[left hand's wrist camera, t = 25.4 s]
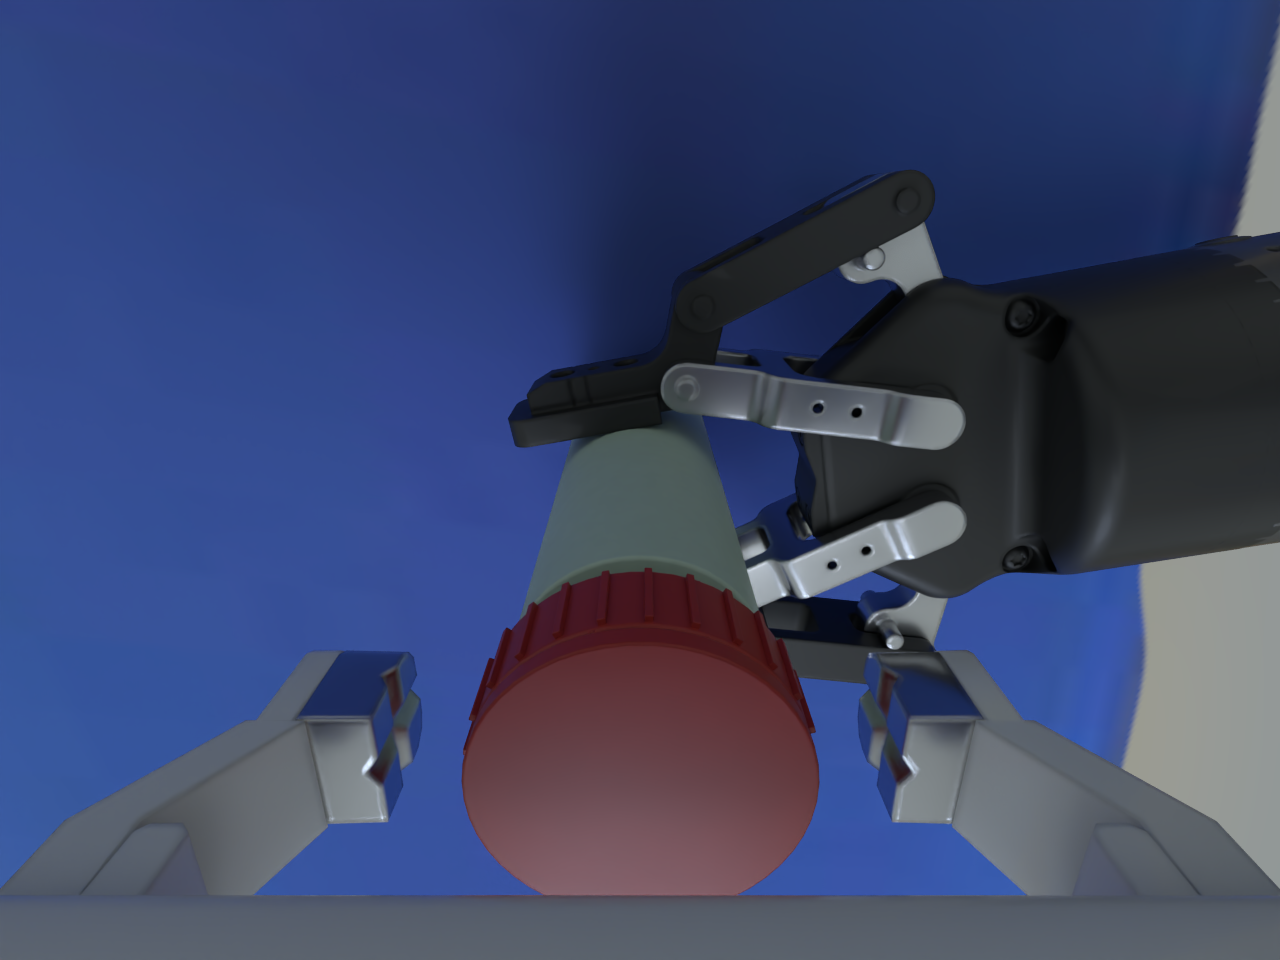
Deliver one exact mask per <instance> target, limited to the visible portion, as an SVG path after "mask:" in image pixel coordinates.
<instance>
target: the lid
mask: <svg viewBox="0 0 1280 960" xmlns="http://www.w3.org/2000/svg"><path fill="white" fill-rule="evenodd" d="M469 720H471V721H472V724H471V727H470V730H469V733H468V736H467V739H466V742H465V745H464V748H463V755H464V760H463V767H462V788H463V797H464V802H465V805H466V809H467V812H468V816H469V819H470V821H471V823H472V825H473V827H474V829H475V832H476V834H477V835H478V837H479V838H480V840H481V841H482V843H483V844H484V846H485V847H486V849H487V850H488V851H489V853H490V854H491V855H492V856H493V857H494V858H495V859H496V860H497V862H498V863H499V864H500V865H501V866H503V867H504V868H505V869H506V870H507V871H508V872H509V873H511V874H512V875H513V876H514V877H516V878H517V879H518V880H520V881H521V882H523V883H524V884H526V885H527V886H529V887H530V888H532V889H534V890H536V891H538V892H540V893H541V894H543V895H738V894H740V893H742V892H744V891H746V890H747V889H749V888H751V887H752V886H754V885H755V884H757V883H758V882H760V881H761V880H763V879H764V878H766V877H767V876H768V875H769V874H770V873H772V872H773V871H774V870H775V869H776V868H778V867H779V866H780V865H781V864H782V863H783V862H784V861H785V859H786V858H787V857H788V856H789V855H790V854H791V853H792V852H793V850H794V849H795V848H796V846H797V845H798V843H799V842H800V840H801V839H802V837H803V836H804V834H805V832H806V830H807V828H808V826H809V824H810V821H811V819H812V816H813V813H814V809H815V806H816V803H817V797H818V789H819V764H818V760H817V755H816V750H815V746H814V743H813V740H812V737H811V733H815V732H816V731H815V726H814V723H813V720H812V718H811V715H810V712H809V709H808V706H807V703H806V700H805V697H804V694H803V691H802V688H801V685H800V682H799V679H798V676H797V673H796V670H793V667H792V663H791V660H790V657H789V654H788V651H787V648H786V645H785V643H784V641H783V639H782V638H781V639H779V640H776V638H775V637H774V635H773V634H772V633H771V631H770V630H769V629H768V628H767V626H766V624H765V621H764V617H763V614H762V613H761V612H760V611H756V612H755V613H753V612H752V611H751V610H750V609H749V608H747V607H746V606H745V605H743V604H742V603H740V602H739V601H737V600H736V599H735V598H733V594H732V591H731V590H729V589H727V588H725V590H724V591H723V592H722V591H720V590H719V589H717V588H715V587H713V586H710V585H708V584H705V583H702V582H700V581H697V580H695V579H694V575H692V574H688V573H687V575H686V577H682V576H678V575H674V574H667V573H658V572H652V568H644V572H623V573H614V574H610V572H609V570H607V571H602V574H601V576H598V577H594V578H590V579H587V580H584V581H582V582H579V583H576V584H573V585H570V583H569V582H567V583H564V584H562V588H561V591H559V592H557V593H555V594H553V595H551V596H549V597H548V598H547V599H545V600H544V601H542V602H541V603H539V604H538V605H537V604H536V603H535V602H532V603H531V604H529V605H528V609H527V612H526V615H525V616H524V617H523V618H521V619H520V620H519V622H518V623H517V624H516V625H515V626H514V628H513V629H512V630H510V629H509V628H506V629H505V630H504V632H503V634H502V637H501V640H500V644H499V647H498V650H497V653H496V656H495V659H492V658H489V660H488V663H487V666H486V669H485V672H484V675H483V678H482V681H481V684H480V687H479V690H478V693H477V696H476V699H475V702H474V705H473V708H472V711H471V714H470V717H469Z"/></svg>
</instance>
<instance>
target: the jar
mask: <svg viewBox="0 0 1280 960" xmlns="http://www.w3.org/2000/svg"><path fill="white" fill-rule="evenodd" d="M661 417H662V424H660V425H654V426H648V427H642V428H637V429H628V430H623V431H618V432H613V433H608V434H602V435H596V436H590V437H585V438H579V439H573V440H572V442H571V445H570V448H569V452H568V455H567V459H566V462H565V466H564V469H563V472H562V476H561V479H560V483H559V486H558V490H557V493H556V496H555V500H554V503H553V507H552V510H551V514H550V517H549V521H548V524H547V527H546V531H545V534H544V538H543V541H542V545H541V548H540V551H539V555H538V558H537V562H536V565H535V569H534V572H533V575H532V579H531V582H530V586H529V589H528V593H527V596H526V599H525V603H524V606H523V610H522V613H521V617H520V619H521V618H523V617H524V616H525V615H526V612H527V609H528V605H529V604H531V603H532V602H535V603H536V604H537V605H538V604H539V603H541V602H542V601H544V600H545V599H547V598H548V597H549V596H551V595H553V594H555V593H557V592H559V591H561V588H562V584H564V583H567V582H569V583H570V585H573V584H576V583H579V582H582V581H584V580H587V579H590V578H594V577H598V576H601V574H602V571H607V570H609V572H610V574H614V573H623V572H644V568H652V572H658V573H667V574H674V575H678V576H682V577H686V575H687V573H688V574H692V575H694V579H695V580H697V581H700V582H702V583H705V584H708V585H710V586H713V587H715V588H717V589H719V590H720V591H722V592H723V591H724V590H725V588H727V589H729V590H731V591H732V594H733V598H735V599H736V600H737V601H739V602H740V603H742V604H743V605H745V606H746V607H747V608H749V609H750V610H751V611H752V612H753V613H755V612H756V611H759V609H758V606H757V602H756V599H755V596H754V592H753V589H752V585H751V582H750V578H749V575H748V572H747V568H746V565H745V561H744V558H743V555H742V551H741V548H740V544H739V541H738V537H737V534H736V531H735V527H734V524H733V520H732V517H731V514H730V510H729V507H728V503H727V500H726V496H725V493H724V490H723V486H722V483H721V479H720V476H719V472H718V469H717V466H716V462H715V459H714V455H713V452H712V449H711V445H710V442H709V438H708V435H707V431H706V428H705V425H704V421H703V418H702V415H694V414H685V413H679V412H676V411H674V410H671V411H665V412H661Z"/></svg>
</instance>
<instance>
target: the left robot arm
mask: <svg viewBox="0 0 1280 960" xmlns="http://www.w3.org/2000/svg"><path fill="white" fill-rule="evenodd" d="M416 676H417V673H416V667H415V662H414V657H413V656H412V655H411V654H410V653H409V652H386V651H312V652H309V653H307V654H306V655H305V656H304V657H303V659H302V660H301V661H300V663H299V664H298V665H297V667H296V668H295V669H294V671H293V672H292V673H291V675H290V676H289V677H288V678H287V680H286V681H285V682H284V684H283V685H282V686H281V688H280V689H279V690H278V692H277V693H276V694H275V696H274V697H273V698H272V700H271V701H270V702H269V704H268V705H267V706H266V708H265V709H264V710H263V712H262V713H261V714H260V716H259V717H258V718H257V720H246V721H244V722H242V723H240V724H238V725H237V726H235V727H233V728H231V729H229V730H227V731H226V732H224V733H222V734H220V735H218V736H217V737H215V738H213V739H211V740H209V741H208V742H206V743H204V744H202V745H200V746H198V747H197V748H195V749H193V750H191V751H189V752H188V753H186V754H184V755H182V756H180V757H179V758H177V759H175V760H173V761H171V762H169V763H168V764H166V765H164V766H162V767H160V768H159V769H157V770H155V771H153V772H151V773H150V774H148V775H146V776H144V777H142V778H140V779H139V780H137V781H135V782H133V783H131V784H130V785H128V786H126V787H124V788H122V789H121V790H119V791H117V792H115V793H113V794H111V795H110V796H108V797H106V798H104V799H102V800H101V801H99V802H97V803H95V804H93V805H92V806H90V807H88V808H86V809H84V810H82V811H81V812H79V813H77V814H75V815H73V816H72V817H70V818H68V819H66V820H65V821H64V822H63V823H62V824H61V825H60V826H59V827H58V828H57V829H56V830H55V831H54V832H53V833H52V834H51V836H50V837H49V838H48V839H47V840H46V841H45V842H44V843H43V844H42V845H41V846H40V847H39V848H38V849H37V850H36V852H35V853H34V854H33V855H32V856H31V857H30V858H29V859H28V860H27V861H26V862H25V863H24V864H23V865H22V866H21V867H20V869H19V870H18V871H17V872H16V873H15V874H14V875H13V876H12V877H11V878H10V879H9V880H8V881H7V882H6V883H5V885H4V886H3V887H2V888H1V889H0V960H1280V889H1279V888H1278V887H1277V886H1276V884H1275V883H1274V882H1273V881H1272V880H1271V879H1270V878H1269V877H1268V876H1267V875H1266V874H1265V873H1264V872H1263V871H1262V869H1261V868H1260V867H1259V866H1258V865H1257V864H1256V863H1255V862H1254V861H1253V860H1252V859H1251V858H1250V857H1249V856H1248V854H1247V853H1246V852H1245V851H1244V850H1243V849H1242V848H1241V847H1240V846H1239V845H1238V844H1237V843H1236V842H1235V841H1234V839H1233V838H1232V837H1231V836H1230V835H1229V834H1228V833H1227V832H1226V831H1225V830H1224V829H1223V828H1222V827H1221V826H1220V824H1219V823H1218V822H1217V821H1215V820H1213V819H1211V818H1210V817H1208V816H1206V815H1204V814H1202V813H1201V812H1199V811H1197V810H1195V809H1193V808H1192V807H1190V806H1188V805H1186V804H1184V803H1182V802H1181V801H1179V800H1177V799H1175V798H1173V797H1172V796H1170V795H1168V794H1166V793H1164V792H1163V791H1161V790H1159V789H1157V788H1155V787H1154V786H1152V785H1150V784H1148V783H1146V782H1145V781H1143V780H1141V779H1139V778H1137V777H1136V776H1134V775H1132V774H1130V773H1128V772H1126V771H1125V770H1123V769H1121V768H1119V767H1117V766H1116V765H1114V764H1112V763H1110V762H1108V761H1107V760H1105V759H1103V758H1101V757H1099V756H1098V755H1096V754H1094V753H1092V752H1090V751H1089V750H1087V749H1085V748H1083V747H1081V746H1080V745H1078V744H1076V743H1074V742H1072V741H1071V740H1069V739H1067V738H1065V737H1063V736H1061V735H1060V734H1058V733H1056V732H1054V731H1052V730H1051V729H1049V728H1047V727H1045V726H1043V725H1042V724H1040V723H1038V722H1036V721H1034V720H1023V718H1022V717H1021V716H1020V714H1019V713H1018V712H1017V710H1016V709H1015V708H1014V707H1013V705H1012V704H1011V703H1010V701H1009V700H1008V699H1007V697H1006V696H1005V695H1004V693H1003V692H1002V691H1001V689H1000V688H999V687H998V685H997V684H996V683H995V681H994V680H993V679H992V677H991V676H990V675H989V673H988V672H987V671H986V670H985V668H984V667H983V666H982V664H981V663H980V662H979V660H978V659H977V658H976V656H975V655H974V654H973V653H971V652H969V651H967V650H954V651H934V652H890V653H869V654H868V656H867V658H866V661H865V666H864V672H863V676H864V678H865V680H866V682H867V685H868V687H869V690H868V691H867V692H866V693H865V694H864V695H863V696H862V697H861V698H860V700H859V709H858V729H859V738H860V742H861V746H862V750H863V752H864V755H865V757H866V760H867V762H868V763H869V764H871V765H872V766H873V767H875V768H876V769H877V770H879V774H878V780H877V787H878V789H879V792H880V794H881V797H882V799H883V801H884V804H885V806H886V809H887V811H888V813H889V816H890V818H891V820H892V822H909V823H945V824H952V827H953V828H954V829H955V830H956V831H957V832H959V833H960V834H961V835H962V836H963V837H964V838H965V839H966V840H967V841H968V842H970V843H971V844H972V845H973V846H974V847H975V848H976V849H977V850H978V851H979V852H981V853H982V854H983V855H984V856H985V857H986V858H987V859H988V860H989V861H990V862H991V863H993V864H994V865H995V866H996V867H997V868H998V869H999V870H1000V871H1001V872H1002V873H1004V874H1005V875H1006V876H1007V877H1008V878H1009V879H1010V880H1011V881H1012V882H1013V883H1015V884H1016V885H1017V886H1018V887H1019V888H1020V889H1021V890H1022V891H1023V892H1024V893H1026V894H1027V895H868V896H771V895H319V896H286V895H254V894H255V893H256V892H257V891H258V890H259V889H260V888H261V887H262V886H263V885H265V884H266V883H267V882H268V881H269V880H270V879H271V878H272V877H273V876H274V875H276V874H277V873H278V872H279V871H280V870H281V869H282V868H283V867H284V866H285V865H287V864H288V863H289V862H290V861H291V860H292V859H293V858H294V857H295V856H296V855H298V854H299V853H300V852H301V851H302V850H303V849H304V848H305V847H306V846H307V845H309V844H310V843H311V842H312V841H313V840H314V839H315V838H316V837H317V836H318V835H320V834H321V833H322V832H323V831H324V830H325V829H326V828H327V827H328V825H327V824H335V823H369V822H388V821H389V818H390V816H391V813H392V811H393V809H394V806H395V804H396V801H397V799H398V797H399V794H400V792H401V789H402V787H403V781H402V774H401V770H403V769H404V768H405V767H407V766H408V765H409V764H411V763H412V762H413V760H414V757H415V755H416V752H417V749H418V747H419V741H420V736H421V730H422V708H421V700H420V698H419V697H418V696H417V695H416V694H415V693H414V692H413V691H412V690H411V687H412V685H413V682H414V680H415V678H416Z"/></svg>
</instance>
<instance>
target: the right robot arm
mask: <svg viewBox="0 0 1280 960" xmlns="http://www.w3.org/2000/svg"><path fill="white" fill-rule="evenodd" d="M934 202H935V191H934V187H933V184H932V182H931V180H930V179H929V178H928V177H927V176H926V175H925V174H923V173H921V172H919V171H916V170H904V171H896V172H888V173H881V174H873V175H868V176H865V177H863V178H861V179H859V180H857V181H855V182H853V183H851V184H849V185H848V186H846V187H844V188H842V189H840V190H838V191H836V192H834V193H832V194H831V195H829V196H827V197H825V198H823V199H821V200H819V201H817V202H815V203H814V204H812V205H810V206H808V207H806V208H804V209H802V210H800V211H798V212H797V213H795V214H793V215H791V216H789V217H787V218H785V219H783V220H781V221H780V222H778V223H776V224H774V225H772V226H770V227H768V228H766V229H765V230H763V231H761V232H759V233H757V234H755V235H753V236H751V237H749V238H748V239H746V240H744V241H742V242H740V243H738V244H736V245H734V246H732V247H731V248H729V249H727V250H725V251H723V252H721V253H719V254H717V255H715V256H714V257H712V258H710V259H708V260H706V261H704V262H702V263H700V264H698V265H697V266H695V267H693V268H691V269H689V270H687V271H685V272H684V273H682V274H681V275H680V276H679V277H678V278H677V279H676V280H675V282H674V284H673V287H672V299H671V304H670V310H669V315H668V321H667V326H666V331H665V334H664V336H663V338H662V340H661V342H660V343H659V344H658V345H657V346H656V347H655V348H654V349H652V350H651V351H649V352H647V353H644V354H640V355H634V356H629V357H623V358H618V359H612V360H607V361H601V362H596V363H591V364H584V365H579V366H575V367H568V368H562V369H557V370H552V371H550V372H549V373H547V374H545V375H544V376H542V377H541V378H539V379H538V380H536V381H535V382H534V384H533V385H532V387H531V389H530V390H529V392H528V394H527V398H528V399H526V400H523V401H521V402H519V403H518V404H517V405H516V406H515V408H514V409H513V411H512V413H511V414H510V416H509V418H508V420H509V424H510V428H511V432H512V436H513V439H514V443H515V446H517V447H533V446H538V445H544V444H550V443H556V442H561V441H567V440H573V439H579V438H585V437H590V436H596V435H602V434H608V433H613V432H618V431H623V430H628V429H637V428H642V427H648V426H654V425H660V424H662V417H661V412H665V411H671V410H674V411H676V412H679V413H685V414H694V415H703V416H712V417H721V418H730V419H739V420H748V421H752V422H755V423H758V424H760V425H762V426H764V427H768V428H772V429H777V430H785V431H791V434H792V436H793V439H794V441H795V444H796V446H797V448H798V451H799V459H798V465H797V470H796V476H795V489H796V493H794V494H792V495H790V496H788V497H785V498H783V499H781V500H779V501H776V502H774V503H772V504H770V505H768V506H766V507H765V508H763V509H762V510H761V511H760V512H759V514H758V516H757V517H756V518H755V519H754V520H752V521H751V522H748V523H746V524H744V525H742V526H740V527H737V528H735V531H736V534H737V537H738V541H739V544H740V548H741V551H742V555H743V558H744V561H745V565H746V568H747V572H748V575H749V578H750V582H751V585H752V589H753V592H754V596H755V599H756V602H757V606H758V609H759V611H760V612H761V613H762V614H763V617H764V621H765V624H766V626H767V628H768V629H769V630H770V631H771V633H772V634H773V635H774V637H775V638H776V640H779V639H781V638H782V639H783V641H784V643H785V645H786V648H787V651H788V654H789V657H790V660H791V663H792V667H793V670H796V673H797V676H798V677H800V678H810V679H821V680H831V681H841V682H851V683H862V684H867V682H866V680H865V678H864V676H863V672H864V666H865V661H866V658H867V656H868V654H869V653H890V652H934V651H936V650H935V648H934V640H935V637H936V634H937V631H938V628H939V625H940V622H941V619H942V616H943V613H944V610H945V606H946V603H947V600H948V598H953V597H957V596H960V595H963V594H965V593H967V592H969V591H970V590H972V589H974V588H975V587H977V586H978V585H980V584H982V583H983V582H985V581H987V580H989V579H991V578H994V577H996V576H999V575H1002V574H1005V573H1014V572H1022V573H1041V574H1058V575H1067V574H1077V573H1084V572H1091V571H1097V570H1104V569H1110V568H1117V567H1123V566H1130V565H1136V564H1143V563H1149V562H1156V561H1162V560H1169V559H1175V558H1182V557H1188V556H1195V555H1201V554H1207V553H1214V552H1221V551H1227V550H1234V549H1240V548H1245V547H1251V546H1258V545H1265V544H1272V543H1278V542H1280V232H1277V233H1272V234H1266V235H1260V236H1255V237H1251V236H1239V237H1238V236H1237V235H1234V236H1228V237H1222V238H1217V239H1213V240H1208V241H1204V242H1201V243H1197V244H1195V246H1193V247H1190V248H1187V249H1183V250H1177V251H1172V252H1166V253H1161V254H1155V255H1150V256H1144V257H1139V258H1134V259H1129V260H1124V261H1118V262H1113V263H1107V264H1102V265H1096V266H1091V267H1085V268H1080V269H1074V270H1068V271H1063V272H1057V273H1052V274H1046V275H1041V276H1035V277H1030V278H1024V279H1018V280H1013V281H1007V282H1002V283H996V284H990V285H972V284H970V283H968V282H965V281H962V280H959V279H954V278H948V277H946V276H943V275H942V272H941V270H940V267H939V264H938V261H937V258H936V255H935V252H934V249H933V246H932V243H931V240H930V237H929V234H928V232H927V229H926V226H925V223H924V221H925V220H926V219H927V218H928V216H929V215H930V213H931V211H932V209H933V206H934ZM830 271H833V272H834V273H835V274H836V275H837V276H838V277H840V278H843V279H845V280H848V281H851V282H854V283H858V284H864V283H869V282H872V281H875V280H880V279H884V280H885V281H886V282H887V283H888V284H889V285H890V286H891V289H892V290H891V291H890V292H889V293H888V294H887V295H886V296H885V297H884V298H883V299H882V300H881V301H880V302H879V303H878V304H877V305H875V306H874V307H873V308H872V309H871V310H870V311H869V312H868V313H867V314H866V315H865V316H864V317H863V318H862V319H861V320H860V321H859V322H857V323H856V324H855V325H854V326H853V327H852V328H851V329H850V330H849V331H848V332H847V333H846V334H845V335H844V336H843V337H842V338H841V339H839V340H838V341H837V342H836V343H835V344H834V345H833V346H832V347H831V348H830V349H829V350H828V351H827V352H826V353H825V354H824V355H823V356H815V355H806V354H798V353H789V352H780V351H772V350H763V349H751V350H747V351H744V350H734V349H725V348H718V346H719V342H720V337H721V332H722V328H723V326H724V325H726V324H728V323H730V322H732V321H734V320H736V319H738V318H740V317H742V316H744V315H746V314H748V313H750V312H751V311H753V310H755V309H757V308H759V307H761V306H763V305H765V304H767V303H769V302H771V301H773V300H775V299H777V298H779V297H781V296H783V295H785V294H787V293H789V292H791V291H793V290H795V289H797V288H799V287H800V286H802V285H804V284H806V283H808V282H810V281H812V280H814V279H816V278H818V277H820V276H822V275H824V274H826V273H828V272H830ZM811 535H813V536H814V537H815V538H816V539H812V540H806V539H807V538H808V537H809V536H811ZM869 572H874V573H876V574H878V575H880V576H883V577H885V578H887V579H889V580H891V581H894V582H896V583H898V584H900V585H899V586H898V587H896V588H895V589H893V590H891V591H888V592H874V591H871V590H869V591H865V592H864V593H863V594H862V595H861V600H860V602H858V601H849V600H839V599H829V598H819V597H812V596H815V595H817V594H819V593H822V592H824V591H826V590H829V589H831V588H833V587H836V586H838V585H841V584H843V583H845V582H848V581H850V580H852V579H855V578H857V577H859V576H862V575H864V574H866V573H869Z"/></svg>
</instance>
